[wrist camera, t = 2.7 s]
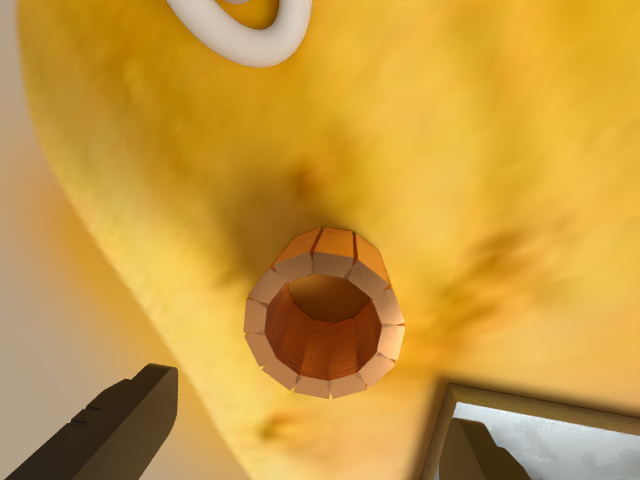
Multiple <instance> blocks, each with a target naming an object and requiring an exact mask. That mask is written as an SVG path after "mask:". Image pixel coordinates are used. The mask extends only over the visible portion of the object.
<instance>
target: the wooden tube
mask: <svg viewBox="0 0 640 480" xmlns="http://www.w3.org/2000/svg"><path fill="white" fill-rule="evenodd" d="M314 273H316V274H322V275H328V276H334V277H340V278H346V279H348V280H349V281H350V282H351V283H353V284H354V285H355V286H357V287H358V288H359V289H360V290H362V291H363V292H364V293H366V294H367V295H368V296H369V297H370V299H369V302H368V303H367V304H366V305H365V306H364V308H363V309H362V310H361V311H360V312H359V313H358V314H357V315H356V316H355V317H353V318H350V319H347V320H343V321H340V322H337V323H330V322H324V321H319V320H313V319H312V318H311V317H309V316H308V315H307V314H305V313H304V312H303V311H301V310H300V309H299V308H297V307H296V305H295V303H294V300H293V298H292V296H291V294H290V291H289V289H288V282H291V281H294V280H297V279H299V278H302V277H305V276H308V275H311V274H314ZM248 295H249V296H248V298H247V299H246V309H245V320H244V332H245V333H246V335H245V336H244V337H245V339H246V341H247V343H248V345H249V347H250V349H251V351H252V353H253V355H254V357H255V359H256V361H257V363H258V365H259V366H263V365H264V367H263V369H262V370H263V371H264V372H265V373H267V374H268V375H270V376H271V377H272V378H274V379H275V380H276V381H278V382H279V383H280V384H282V385H283V386H285V387H286V388H287V389H289V390H291V389H292V388H293V387H294V386H295V390H294V392H295V393H300V394H305V395H311V396H316V397H321V398H326V399H329V395H330V392H331V395H332V397H333V399H335V398H338V397H342V396H346V395H350V394H353V393H357V392H361V391H364V390H367V385H368V386H369V387H372V386H373V385H374V384H375V383H376V382H377V381H378V380H379V379H380V378H381V377H382V376H383V375H385V374H386V373H387V372H388V371H389V370H390V369H391V368H392V367H393V366H394V365H395V360H398V356H399V352H400V348H401V343H402V339H403V335H404V331H405V324H404V322H405V321H404V318H403V315H402V312H401V309H400V307H399V304H398V301H397V298H396V296H395V293H394V290H393V287H392V284H391V282H390V279H389V276H388V273H387V271H386V268H385V265H384V263H383V260H382V257H381V255H380V253H379V252H378V250H377V249H376V248H374V247H373V246H372V245H371V244H369V243H368V242H367V241H366V240H364V239H363V238H362V237H361V236H359V235H358V234H357V233H355V234H354V236H353V231H348V230H341V229H335V228H329V227H324V229H323V231H322V229H321V227H320V228H318V229H315V230H312V231H310V232H307V233H304V234H302V235H299V236H296V237H295V238H294V239H292V240H291V241H290V243H289V244H288V245H287V246H286V248H285V249H284V250H283V251H282V253H281V254H280V255H279V256H278V258H277V259H276V260H275V261H274V262H273V264H272V265H271V266H270V267H269V269H268V270H267V271H266V273H265V274H264V275H263V276H262V278H261V279H260V280H259V281H258V283H257V284H256V285H255V287H254V288H253V289H252V290H251V292H250V293H249V294H248Z"/></svg>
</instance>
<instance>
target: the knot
mask: <svg viewBox="0 0 640 480" xmlns="http://www.w3.org/2000/svg"><path fill="white" fill-rule="evenodd" d="M166 1H167V2H168V4H169V5H170V7H171V8H172V10H173V11H174V12H175V14H176V15H177V17H178V18H179V19H180V20H181V22H182V23H183V24H184V25H185V26H186V27H187V28H188V29H189V31H190V32H191V33H192V34H193V35H194V36H195V37H197V38H198V39H199V40H200V41H201V42H202V43H203V44H205V45H206V46H207V47H208V48H210V49H211V50H213V51H214V52H216V53H217V54H219V55H221V56H222V57H224V58H226V59H228V60H230V61H232V62H235V63H237V64H241V65H244V66H249V67H258V68H259V67H270V66H274V65H277V64H279V63H281V62H283V61H284V60H286V59H287V58H289V57H290V56H291V55H292V54H293V53H294V52H295V51H296V50H297V48H298V47H299V45H300V44H301V42H302V40H303V38H304V36H305V33H306V31H307V28H308V24H309V20H310V15H311V9H312V0H280V2H279V10H278V14H277V17H276V19H275V21H274V23H273V24H272V25H271V26H270V27H268V28H266V29H262V30H259V29H252V28H249V27H246V26H244V25H242V24H240V23H239V22H237V21H236V20H234V19H233V18H232V17H231V16H229V15H228V14H227V13H226V12H225V11H224V10H223V9H222V8H221V7H220V6H219V5H218V4H217V3H216V1H215V0H166ZM224 1H226V2H228V3H231V4H238V5H239V4H243V3H246V2H247V1H249V0H224Z"/></svg>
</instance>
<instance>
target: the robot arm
mask: <svg viewBox="0 0 640 480" xmlns="http://www.w3.org/2000/svg"><path fill="white" fill-rule="evenodd" d="M177 398H178V370H177V368H175V367H170V366H165V365H159V364H153V363H150V364H148V365H146V366H145V367H144V368H143V369H142V370H141V371H140V372H139V373H138V374H137V375H136V376H135V377H134V378H133V379H132V380H129V379H124V380H122V381H120V382H118V383H116V384H114V385H113V386H111V387H109V388H107V389H105V390H104V391H103V392H101V393H100V394H99V395H98V396H97V397H96V398H95V399H94V400H92V402H90V403H89V404H88V405H87V407H86V408H85V409H82V411H80V412H79V413H78V414H77V415H76V416H75V417H74V418H72V419H71V422H70V423H67V424H66V425H65V426H63V428H61V429H60V430H59V431H58V432H57V433H56V434H55V435H53V436H52V437H51V438H50V439H49V440H48V441H47V442H46V443H45V444H43V445H42V446H41V447H40V448H39V449H38V450H37V451H36V452H35V453H33V454H32V455H31V456H30V457H29V458H28V459H27V460H26V461H24V462H23V463H22V464H21V465H20V466H19V467H18V468H17V469H16V470H15V471H13V472H12V473H11V474H10V475H9V476H8V477H7V478H6V479H4V480H139V478H140V476H141V475H142V474H143V472H144V470H145V469H146V468H147V466H148V465H149V463H150V462H151V460H152V459H153V457H154V456H155V454H156V453H157V451H158V450H159V448H160V447H161V445H162V444H163V442H164V441H165V440H166V438H167V437H168V435H169V433H170V432H171V430H172V427H173V425H174V422H175V419H176V415H177V401H178V399H177ZM439 480H531V478H530V477H529V475H528V474H527V472H526V470H525V469H524V467H523V466H522V465H521V464H520V463H519V462H518V461H517V460H516V459H515V458H514V457H513V456H512V455H511V454H510V453H509V452H508V451H507V450H506V449H505V448H503V447H497V445H496V443H495V441H494V440H493V438H492V436H491V434H490V432H489V431H488V429H487V427H486V426H485V424H484V423H482V422H479V421H473V420H467V419H461V418H456V417H453V418H452V419H451V421H450V423H449V427H448V430H447V434H446V438H445V441H444V445H443V448H442V452H441V456H440V459H439Z"/></svg>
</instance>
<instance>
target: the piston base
mask: <svg viewBox="0 0 640 480" xmlns="http://www.w3.org/2000/svg"><path fill="white" fill-rule="evenodd" d="M453 417H456V418H461V419H467V420H473V421H479V422H482V423H484V424H485V426H486V427H487V429H488V431H489V432H490V434H491V436H492V438H493V440H494V441H495V443H496V445H497V447H503V448H505V449H506V450H507V451H508V452H509V453H510V454H511V455H512V456H513V457H514V458H515V459H516V460H517V461H518V462H519V463H520V464H521V465H522V466H523V467H524V469H525V470H526V472H527V474H528V475H529V477H530V478H531V480H640V418H635V417H630V416H624V415H619V414H614V413H608V412H603V411H597V410H592V409H586V408H581V407H576V406H570V405H565V404H559V403H554V402H548V401H543V400H538V399H532V398H527V397H521V396H516V395H511V394H505V393H500V392H494V391H489V390H483V389H478V388H473V387H467V386H462V385H456V384H451V383H449V384H448V387H447V391H446V394H445V398H444V401H443V405H442V408H441V412H440V415H439V418H438V422H437V425H436V429H435V432H434V436H433V439H432V443H431V446H430V450H429V453H428V456H427V460H426V463H425V467H424V470H423V474H422V477H421V480H439V459H440V456H441V452H442V448H443V445H444V441H445V438H446V434H447V430H448V427H449V423H450V421H451V419H452V418H453Z"/></svg>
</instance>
